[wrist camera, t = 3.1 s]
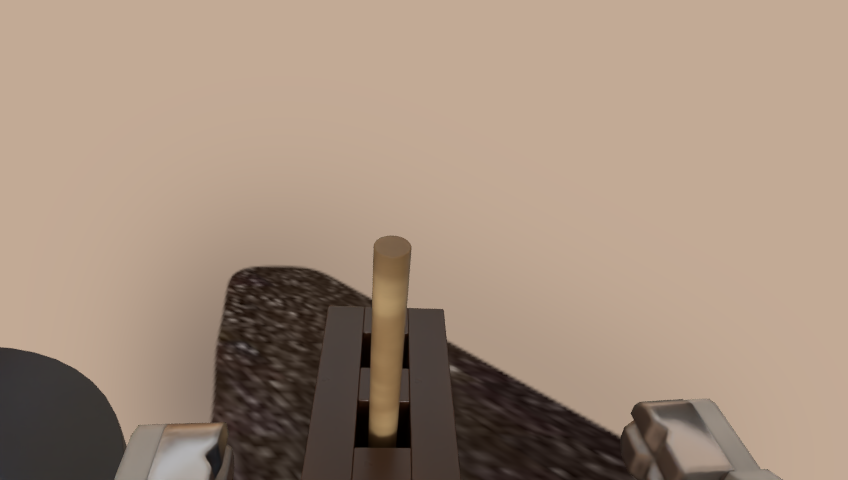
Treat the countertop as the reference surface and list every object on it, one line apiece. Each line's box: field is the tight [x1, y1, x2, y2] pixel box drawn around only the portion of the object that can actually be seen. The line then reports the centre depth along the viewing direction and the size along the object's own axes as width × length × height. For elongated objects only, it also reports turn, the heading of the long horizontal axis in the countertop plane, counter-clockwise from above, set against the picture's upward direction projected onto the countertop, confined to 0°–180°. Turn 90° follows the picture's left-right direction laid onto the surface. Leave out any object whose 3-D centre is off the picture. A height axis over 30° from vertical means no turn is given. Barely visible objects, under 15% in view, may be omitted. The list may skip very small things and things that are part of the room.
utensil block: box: [301, 306, 461, 480], centre depth 34 cm, size 8×14×8 cm, turn 2°
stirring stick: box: [368, 236, 411, 448], centre depth 28 cm, size 2×2×20 cm
